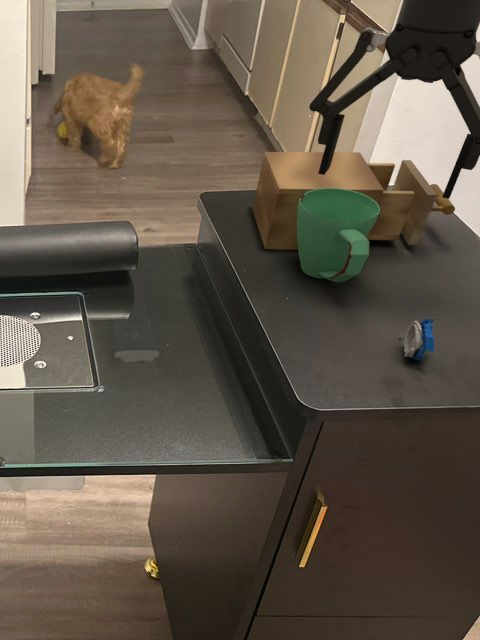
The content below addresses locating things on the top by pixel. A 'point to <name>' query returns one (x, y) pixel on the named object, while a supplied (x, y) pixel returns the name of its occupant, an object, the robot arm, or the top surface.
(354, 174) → the cabinet
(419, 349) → the toy
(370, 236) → the drawer
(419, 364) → the top surface
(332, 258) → the mug
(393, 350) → the top surface
